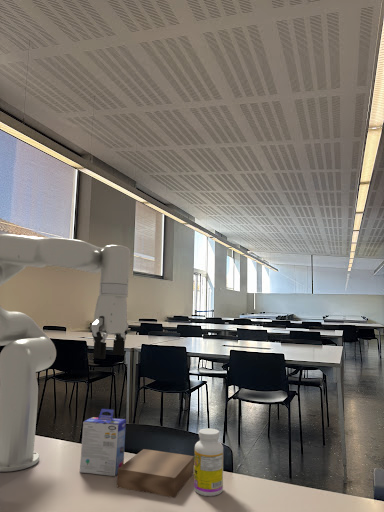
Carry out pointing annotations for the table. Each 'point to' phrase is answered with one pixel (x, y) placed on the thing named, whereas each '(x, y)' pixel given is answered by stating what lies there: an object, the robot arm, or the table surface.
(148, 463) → the walnut block
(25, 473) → the table surface
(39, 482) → the table surface
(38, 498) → the table surface
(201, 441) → the supplement bottle
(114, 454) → the ink cartridge box
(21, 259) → the robot arm
